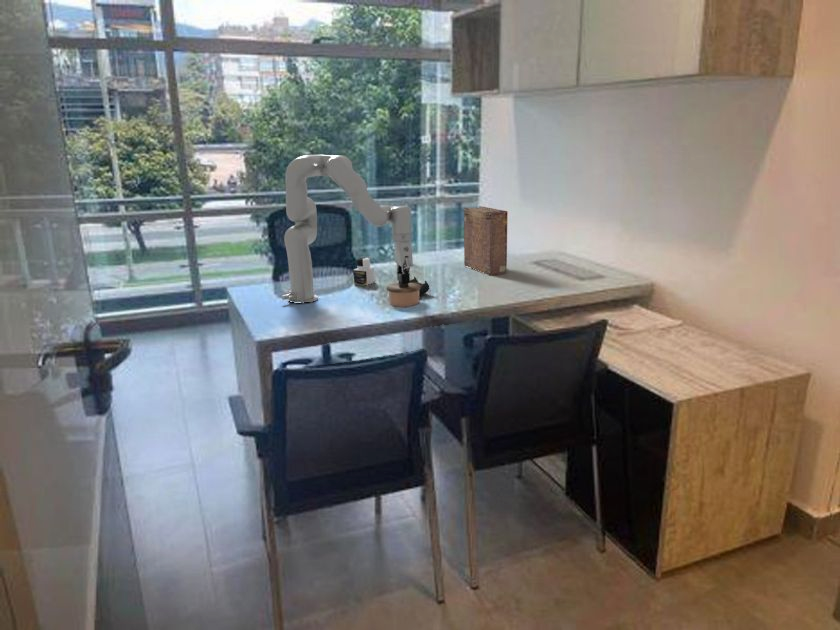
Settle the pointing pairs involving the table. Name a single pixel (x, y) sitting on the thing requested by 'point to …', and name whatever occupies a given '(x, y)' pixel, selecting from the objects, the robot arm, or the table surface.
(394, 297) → the terracotta bowl
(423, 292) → the gaming controller
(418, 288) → the walnut lid
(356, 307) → the table surface
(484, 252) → the brown lidded box
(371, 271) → the medicine bottle
